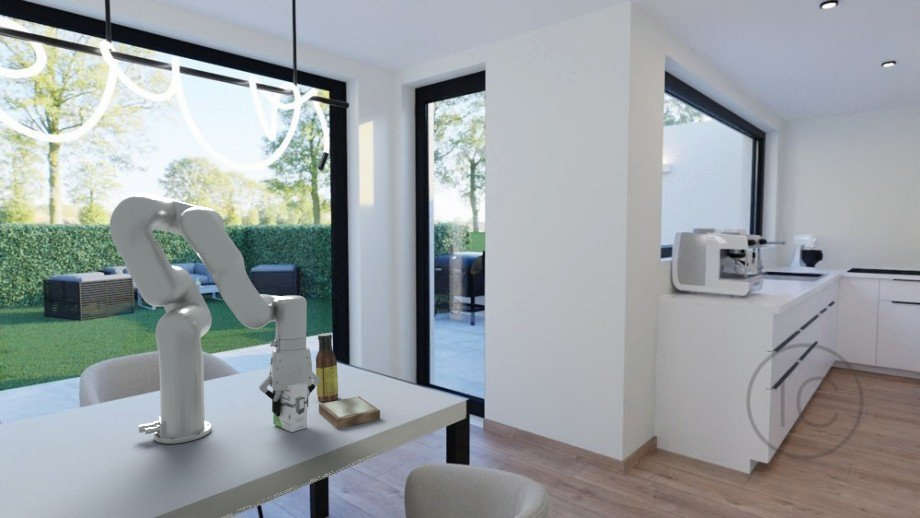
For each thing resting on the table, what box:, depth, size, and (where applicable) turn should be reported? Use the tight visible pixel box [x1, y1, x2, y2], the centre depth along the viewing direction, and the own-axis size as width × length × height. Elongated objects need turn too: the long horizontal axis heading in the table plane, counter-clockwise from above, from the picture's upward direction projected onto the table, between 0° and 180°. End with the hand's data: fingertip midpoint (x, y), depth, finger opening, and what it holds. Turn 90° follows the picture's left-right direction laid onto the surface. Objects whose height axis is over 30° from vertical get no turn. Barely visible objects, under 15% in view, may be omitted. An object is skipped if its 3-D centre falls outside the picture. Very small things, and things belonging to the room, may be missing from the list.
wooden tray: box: [318, 396, 381, 430], centre depth 139 cm, size 12×14×3 cm
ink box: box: [272, 382, 308, 433], centre depth 131 cm, size 9×5×12 cm, turn 52°
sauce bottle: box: [315, 332, 339, 403], centre depth 152 cm, size 7×6×20 cm
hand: (290, 411), depth 131 cm, fingers closed on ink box, 6 cm apart
